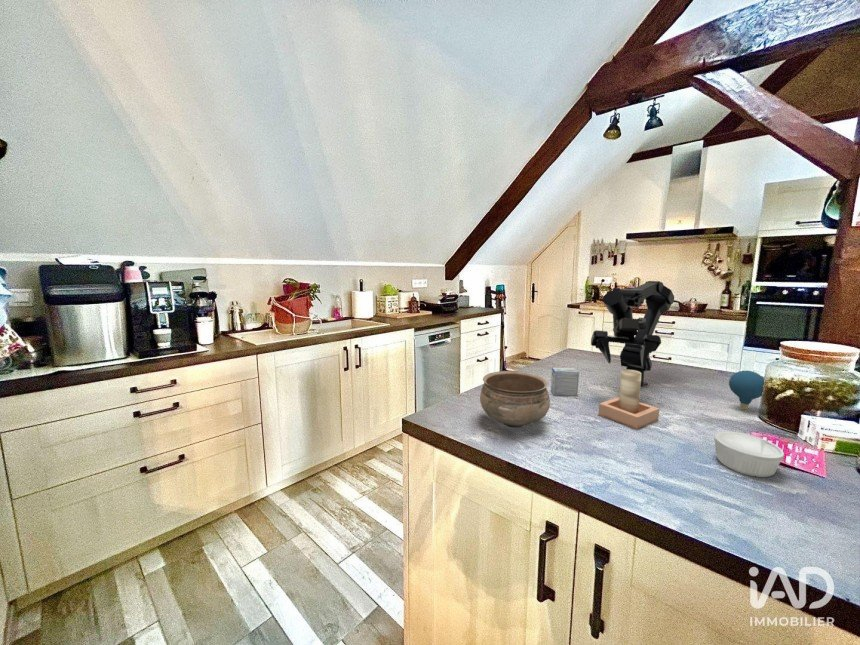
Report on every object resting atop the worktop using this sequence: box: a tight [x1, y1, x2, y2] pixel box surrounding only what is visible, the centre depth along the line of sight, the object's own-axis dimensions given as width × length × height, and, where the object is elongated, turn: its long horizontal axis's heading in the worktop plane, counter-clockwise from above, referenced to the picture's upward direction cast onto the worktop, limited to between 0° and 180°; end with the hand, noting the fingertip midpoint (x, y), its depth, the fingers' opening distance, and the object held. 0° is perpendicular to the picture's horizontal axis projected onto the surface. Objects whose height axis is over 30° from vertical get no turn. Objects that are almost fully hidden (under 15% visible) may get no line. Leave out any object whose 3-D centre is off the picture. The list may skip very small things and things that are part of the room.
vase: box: [618, 369, 642, 414], centre depth 99 cm, size 5×5×13 cm
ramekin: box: [713, 431, 785, 478], centre depth 76 cm, size 11×11×5 cm
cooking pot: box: [479, 370, 551, 428], centre depth 97 cm, size 25×19×12 cm
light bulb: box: [728, 370, 766, 411], centre depth 104 cm, size 8×8×12 cm
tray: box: [598, 396, 660, 430], centre depth 100 cm, size 11×11×4 cm
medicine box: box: [550, 367, 580, 397], centre depth 118 cm, size 8×4×9 cm, turn 84°
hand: (626, 364), depth 106 cm, fingers open, 9 cm apart
